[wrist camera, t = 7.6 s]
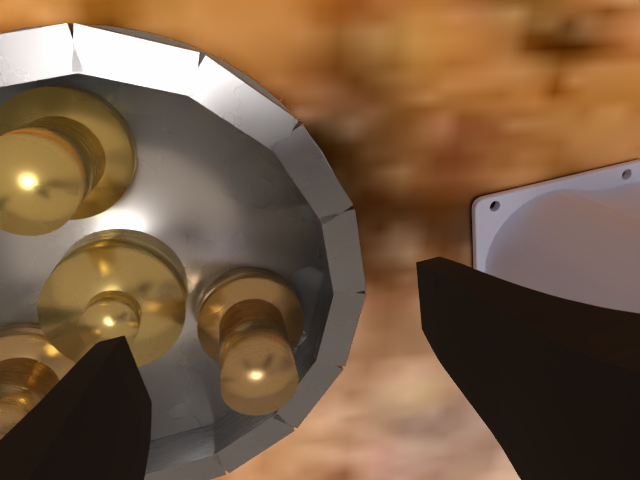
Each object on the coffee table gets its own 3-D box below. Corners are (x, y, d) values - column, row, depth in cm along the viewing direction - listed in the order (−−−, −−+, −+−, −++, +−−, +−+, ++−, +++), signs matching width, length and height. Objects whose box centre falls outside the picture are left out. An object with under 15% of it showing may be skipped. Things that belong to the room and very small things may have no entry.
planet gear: (124, 80, 17) (94, 95, 12) (147, 203, 19) (127, 254, 14) (-18, 87, 16) (-106, 106, 12) (20, 215, 18) (-44, 273, 13)
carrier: (311, -19, 18) (353, -43, 12) (372, 391, 26) (413, 480, 21) (-293, 82, 15) (-556, 106, 10) (-12, 500, 24) (-76, 632, 18)
